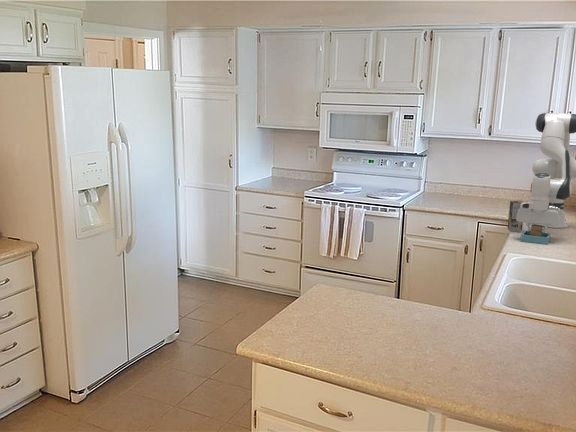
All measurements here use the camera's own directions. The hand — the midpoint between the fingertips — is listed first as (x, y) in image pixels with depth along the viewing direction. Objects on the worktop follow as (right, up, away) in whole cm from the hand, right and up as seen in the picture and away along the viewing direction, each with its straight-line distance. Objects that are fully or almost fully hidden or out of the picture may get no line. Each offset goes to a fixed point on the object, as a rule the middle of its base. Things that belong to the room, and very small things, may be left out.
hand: (536, 232), depth 291 cm
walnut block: (0, -2, 0) cm, 2 cm away
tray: (0, -5, +1) cm, 5 cm away
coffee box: (-1, 0, +26) cm, 26 cm away
